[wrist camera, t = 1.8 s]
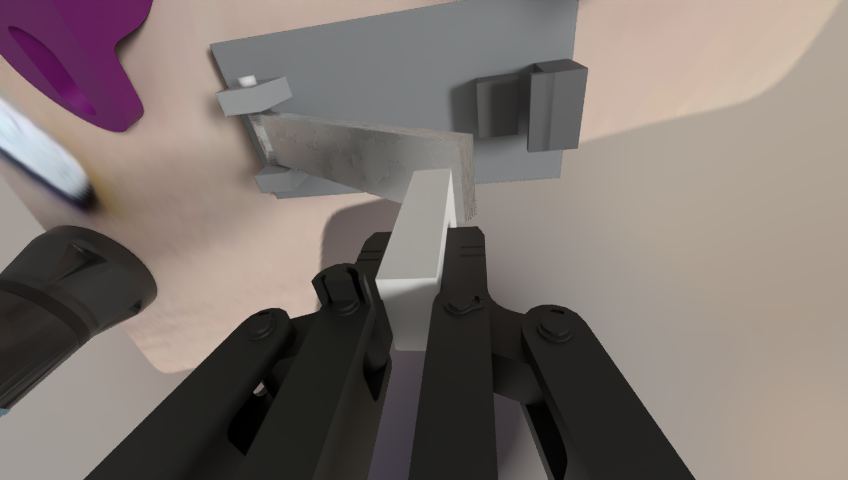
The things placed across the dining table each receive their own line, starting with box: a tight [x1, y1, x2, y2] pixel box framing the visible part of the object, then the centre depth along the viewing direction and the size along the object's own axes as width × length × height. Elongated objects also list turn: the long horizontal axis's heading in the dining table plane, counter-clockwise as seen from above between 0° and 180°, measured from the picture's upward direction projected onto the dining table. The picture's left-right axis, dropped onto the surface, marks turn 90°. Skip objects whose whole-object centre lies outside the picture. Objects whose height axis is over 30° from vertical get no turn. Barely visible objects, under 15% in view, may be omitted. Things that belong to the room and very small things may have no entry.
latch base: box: [209, 0, 588, 199], centre depth 26 cm, size 28×14×7 cm, turn 98°
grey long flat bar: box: [248, 109, 477, 224], centre depth 21 cm, size 21×4×2 cm
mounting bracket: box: [0, 0, 153, 132], centre depth 26 cm, size 9×8×18 cm
